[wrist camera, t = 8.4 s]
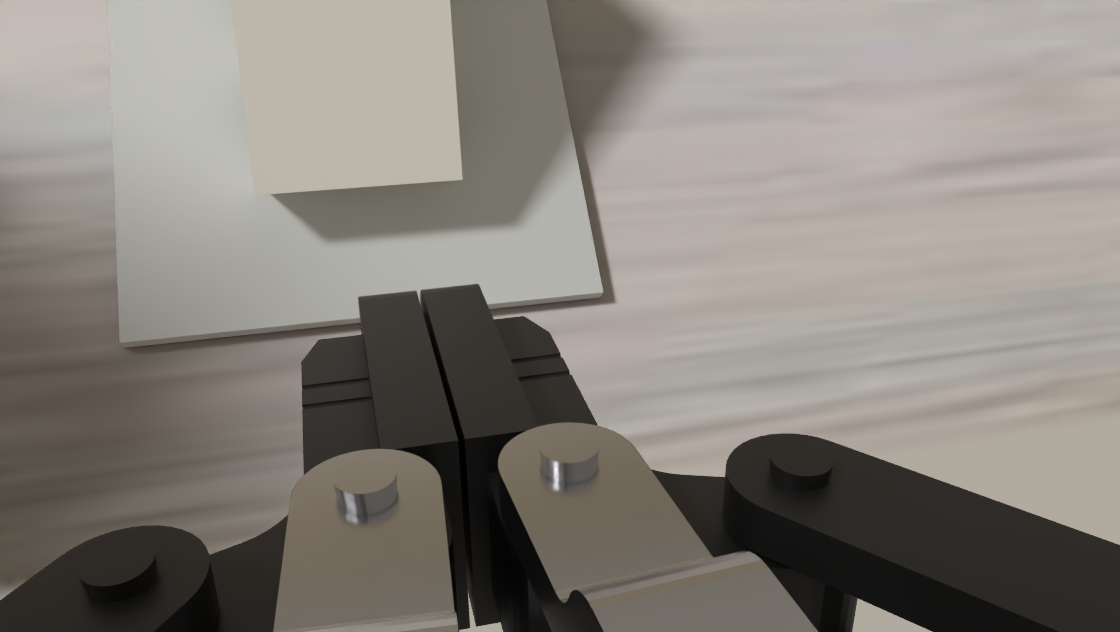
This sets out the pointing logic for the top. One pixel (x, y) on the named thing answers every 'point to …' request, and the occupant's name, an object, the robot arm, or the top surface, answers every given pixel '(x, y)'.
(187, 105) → the mat
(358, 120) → the domino
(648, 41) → the top surface
